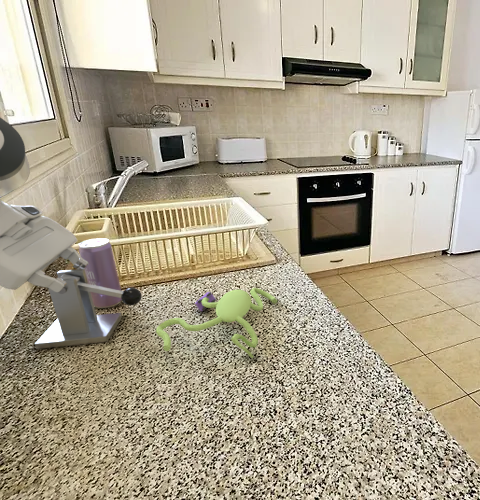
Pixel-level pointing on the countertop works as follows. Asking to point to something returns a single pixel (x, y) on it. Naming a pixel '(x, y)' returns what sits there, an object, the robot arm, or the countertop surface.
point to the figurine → (223, 315)
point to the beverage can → (100, 270)
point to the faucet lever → (110, 291)
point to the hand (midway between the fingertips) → (74, 277)
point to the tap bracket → (76, 316)
